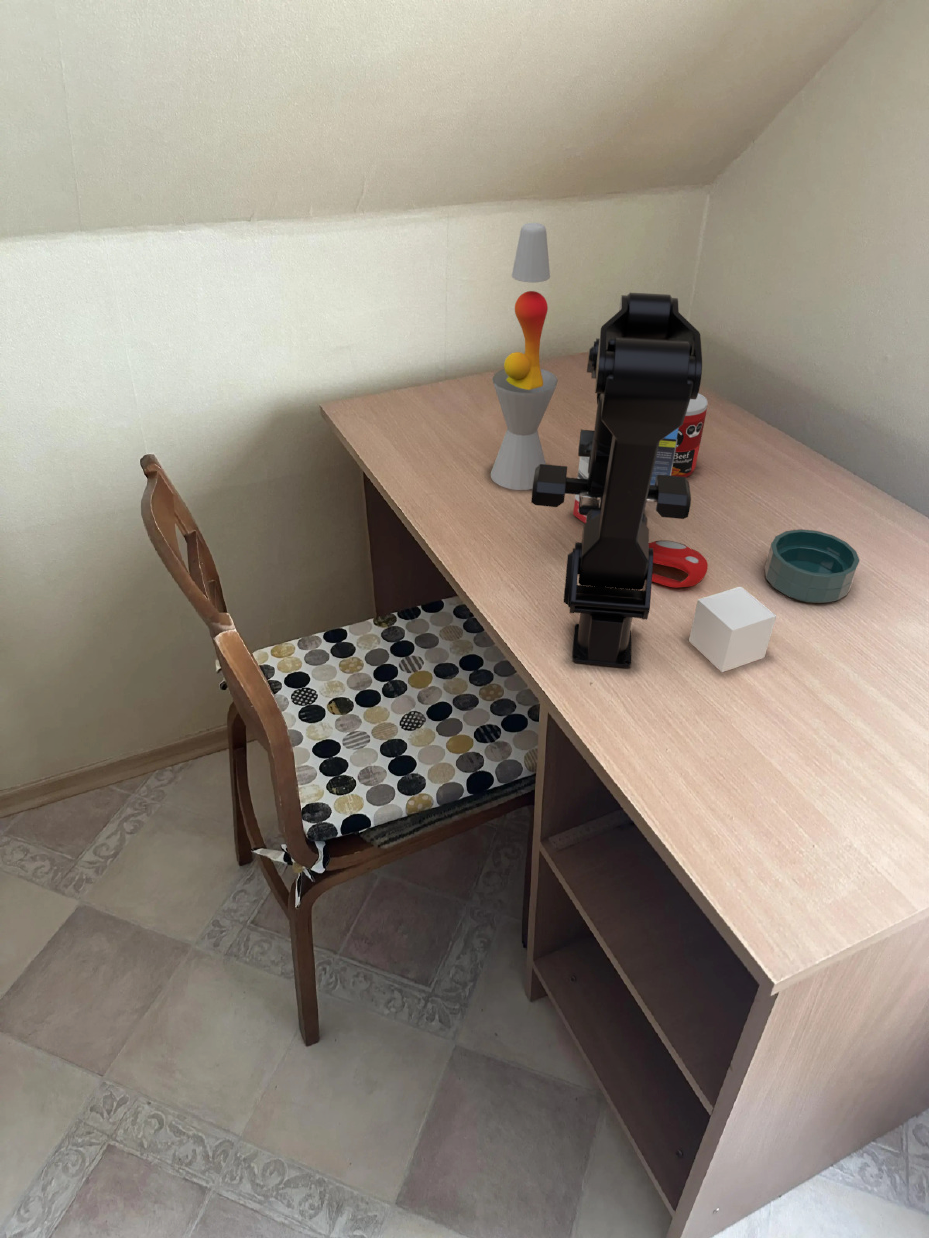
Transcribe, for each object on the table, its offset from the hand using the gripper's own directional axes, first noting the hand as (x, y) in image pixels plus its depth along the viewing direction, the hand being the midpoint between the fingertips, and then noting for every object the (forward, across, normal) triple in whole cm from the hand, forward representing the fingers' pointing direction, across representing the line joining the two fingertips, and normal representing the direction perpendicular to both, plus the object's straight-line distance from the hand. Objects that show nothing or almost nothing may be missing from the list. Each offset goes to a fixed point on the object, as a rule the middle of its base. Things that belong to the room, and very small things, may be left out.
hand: (601, 549), depth 114 cm
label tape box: (+2, -5, -19) cm, 20 cm away
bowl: (+2, -26, 0) cm, 26 cm away
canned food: (+2, -10, -27) cm, 29 cm away
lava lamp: (+2, +12, -21) cm, 24 cm away
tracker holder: (+2, -7, 0) cm, 7 cm away
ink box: (+2, -1, -12) cm, 12 cm away
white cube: (+2, -14, +15) cm, 21 cm away
